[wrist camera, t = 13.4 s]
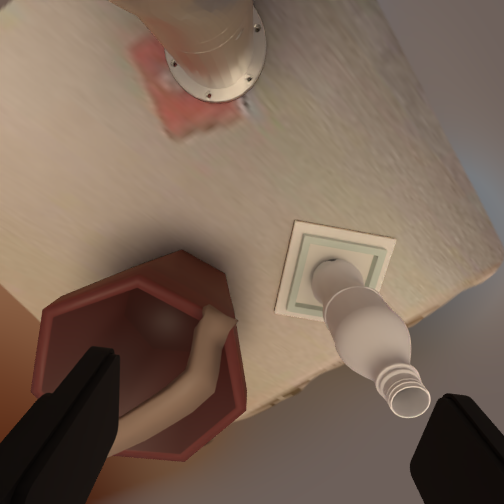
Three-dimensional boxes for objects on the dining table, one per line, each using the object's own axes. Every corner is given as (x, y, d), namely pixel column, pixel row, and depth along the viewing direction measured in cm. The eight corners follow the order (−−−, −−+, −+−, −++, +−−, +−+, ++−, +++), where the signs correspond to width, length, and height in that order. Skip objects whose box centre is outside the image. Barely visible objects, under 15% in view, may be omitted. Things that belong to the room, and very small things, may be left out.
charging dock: (294, 219, 46) (296, 223, 43) (393, 237, 46) (401, 242, 44) (274, 310, 50) (275, 318, 48) (364, 325, 51) (370, 334, 48)
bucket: (229, 212, 46) (199, 276, 22) (278, 337, 52) (297, 494, 28) (82, 266, 48) (-88, 375, 24) (144, 379, 54) (57, 554, 31)
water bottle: (331, 307, 49) (403, 454, 25) (298, 278, 47) (341, 403, 23) (366, 276, 47) (479, 400, 23) (333, 244, 46) (418, 343, 22)
